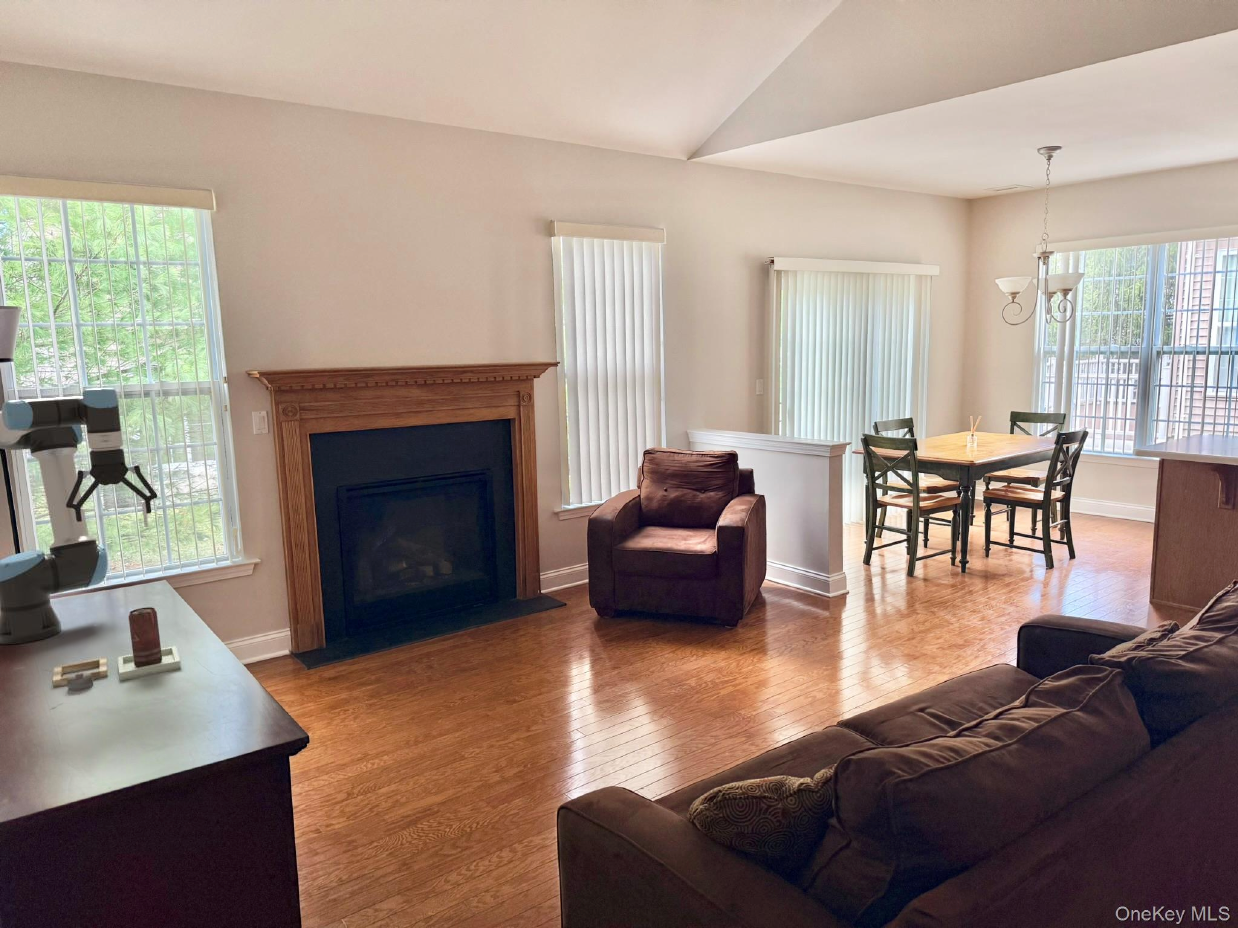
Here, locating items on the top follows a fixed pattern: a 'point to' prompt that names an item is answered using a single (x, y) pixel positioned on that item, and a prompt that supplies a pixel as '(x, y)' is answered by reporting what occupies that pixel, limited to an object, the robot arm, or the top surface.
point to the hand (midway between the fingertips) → (116, 529)
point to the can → (145, 637)
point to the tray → (131, 671)
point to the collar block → (80, 674)
